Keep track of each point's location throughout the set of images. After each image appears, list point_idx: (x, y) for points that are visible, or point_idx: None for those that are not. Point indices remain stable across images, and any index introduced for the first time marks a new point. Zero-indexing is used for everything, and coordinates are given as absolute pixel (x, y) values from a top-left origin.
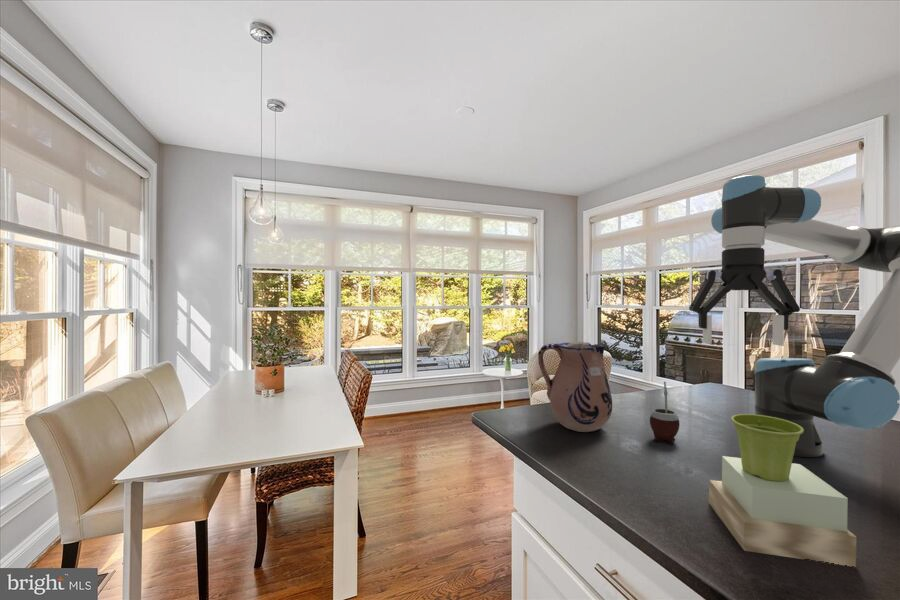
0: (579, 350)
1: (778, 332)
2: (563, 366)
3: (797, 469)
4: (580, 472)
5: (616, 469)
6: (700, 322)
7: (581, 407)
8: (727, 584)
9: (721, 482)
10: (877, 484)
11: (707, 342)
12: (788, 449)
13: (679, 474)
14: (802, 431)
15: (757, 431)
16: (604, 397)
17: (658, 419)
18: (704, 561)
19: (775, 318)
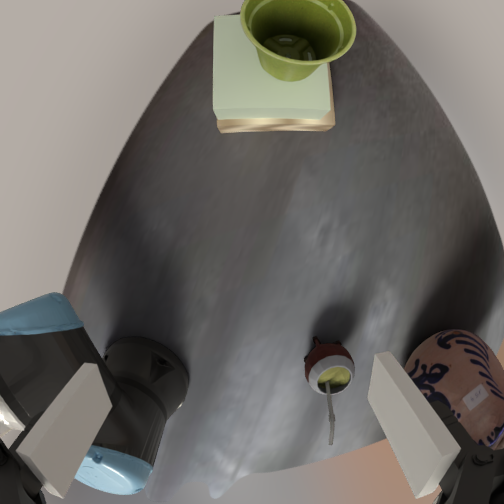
0: None
1: (74, 406)
2: None
3: (229, 84)
4: (458, 187)
5: (420, 209)
6: (455, 423)
7: (466, 337)
8: (345, 3)
9: (320, 119)
10: (82, 266)
11: (391, 357)
12: (274, 6)
13: (341, 215)
14: None
15: None
16: (440, 369)
17: (348, 357)
18: (357, 25)
19: (57, 471)
